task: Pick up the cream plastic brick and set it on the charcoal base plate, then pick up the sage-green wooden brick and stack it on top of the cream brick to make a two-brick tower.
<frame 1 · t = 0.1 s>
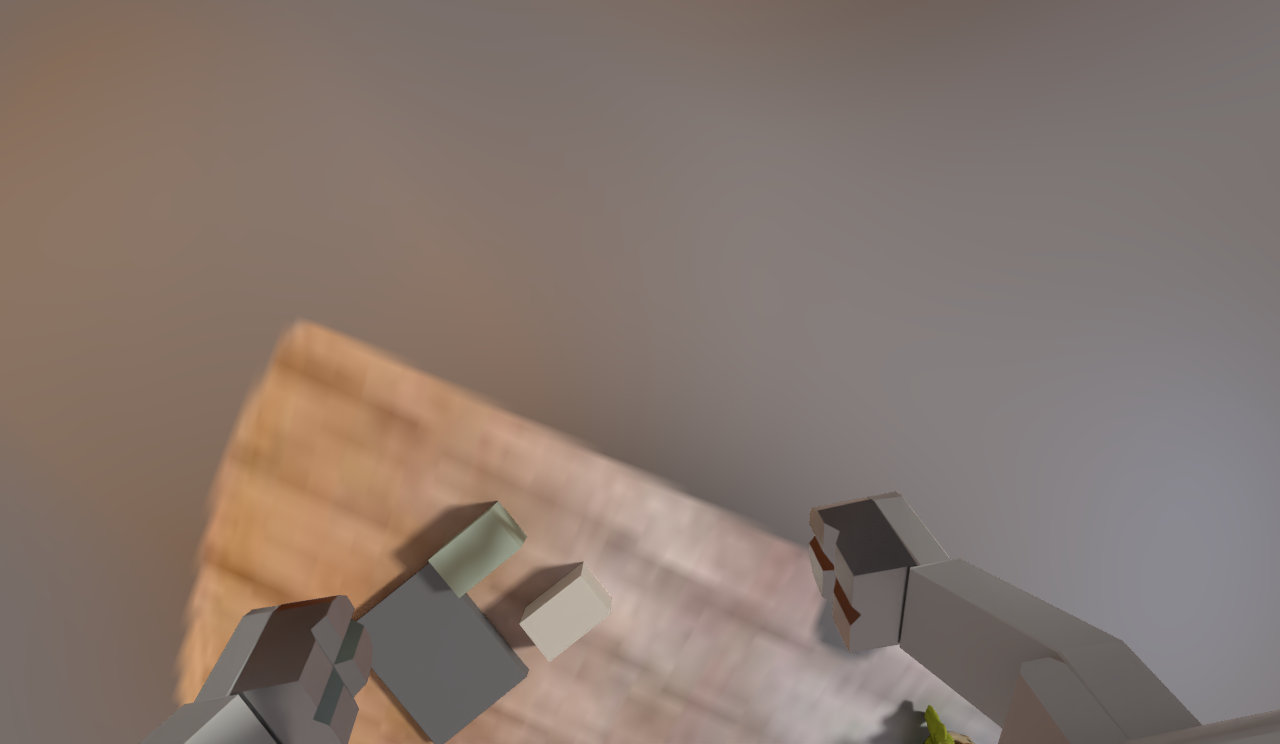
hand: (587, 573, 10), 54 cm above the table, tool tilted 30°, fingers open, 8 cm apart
base plate: (439, 648, 64), on the table
bird rattle: (940, 731, 66), on the table
sage brick: (484, 541, 64), on the table
cream brick: (569, 601, 65), on the table
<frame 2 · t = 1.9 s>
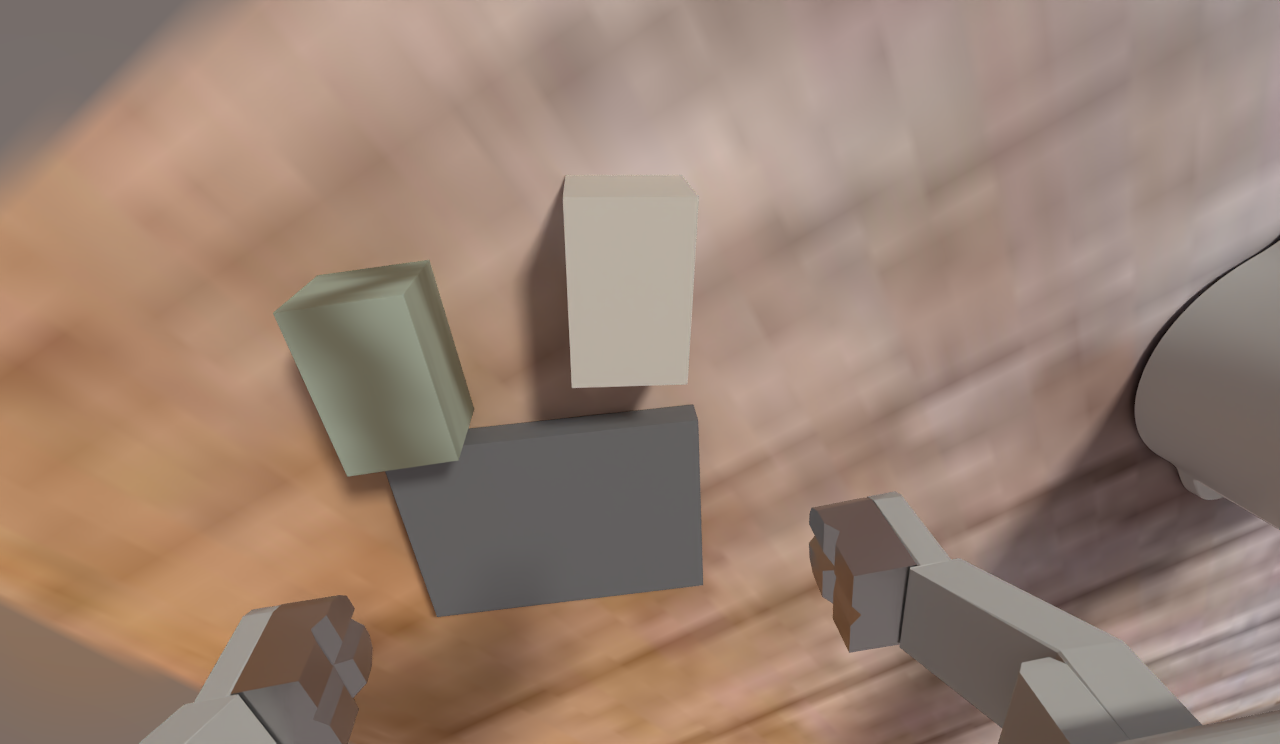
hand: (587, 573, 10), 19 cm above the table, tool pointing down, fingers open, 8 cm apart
base plate: (558, 507, 34), on the table
sage brick: (402, 345, 28), on the table
cream brick: (623, 263, 27), on the table
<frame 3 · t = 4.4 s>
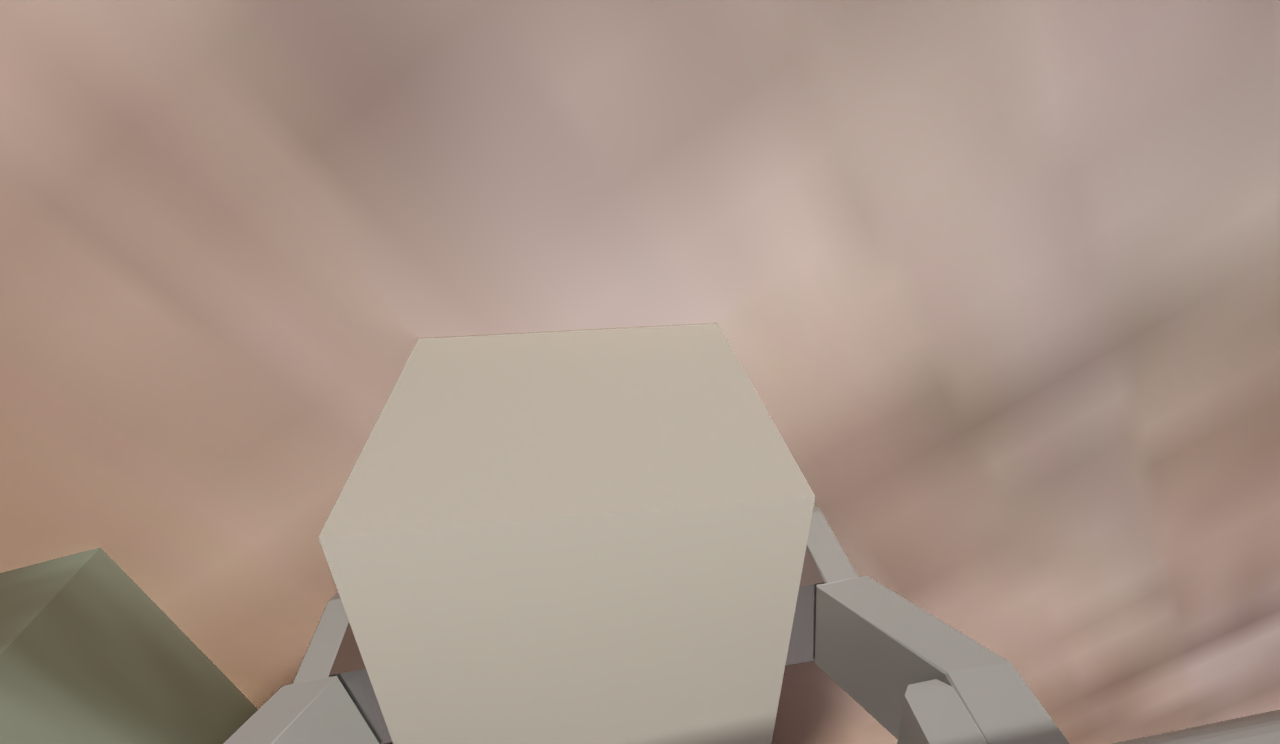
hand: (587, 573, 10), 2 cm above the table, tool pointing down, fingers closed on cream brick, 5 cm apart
sage brick: (120, 694, 13), on the table
cream brick: (584, 512, 12), on the table, touching gripper
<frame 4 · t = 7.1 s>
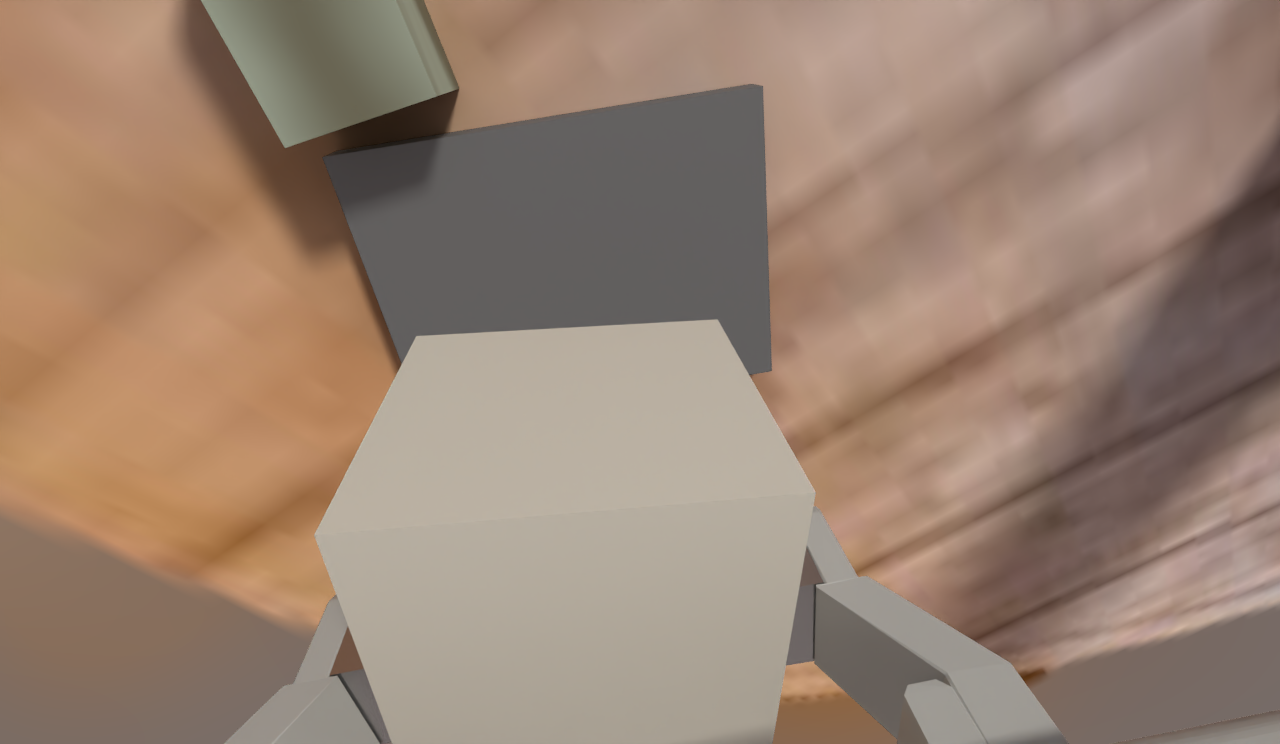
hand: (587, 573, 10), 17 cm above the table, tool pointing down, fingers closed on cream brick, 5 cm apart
base plate: (576, 266, 25), on the table
cream brick: (583, 510, 12), point 16 cm above the table, touching gripper
when the fingers open (4 cm above the table, at t = 10.0 s): cream brick stays where it is, resting on base plate.
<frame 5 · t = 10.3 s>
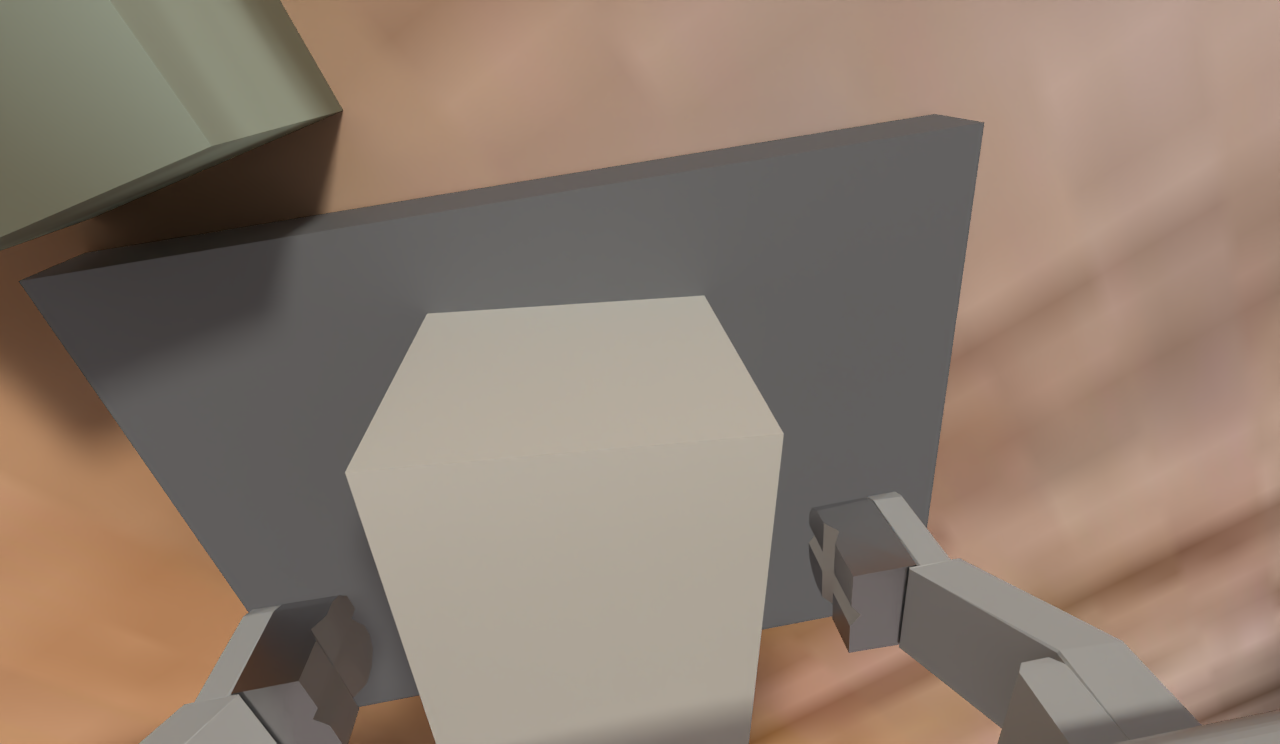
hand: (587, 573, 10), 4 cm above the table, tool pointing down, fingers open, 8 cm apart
base plate: (579, 440, 14), on the table
cream brick: (584, 478, 13), point 1 cm above the table, touching base plate
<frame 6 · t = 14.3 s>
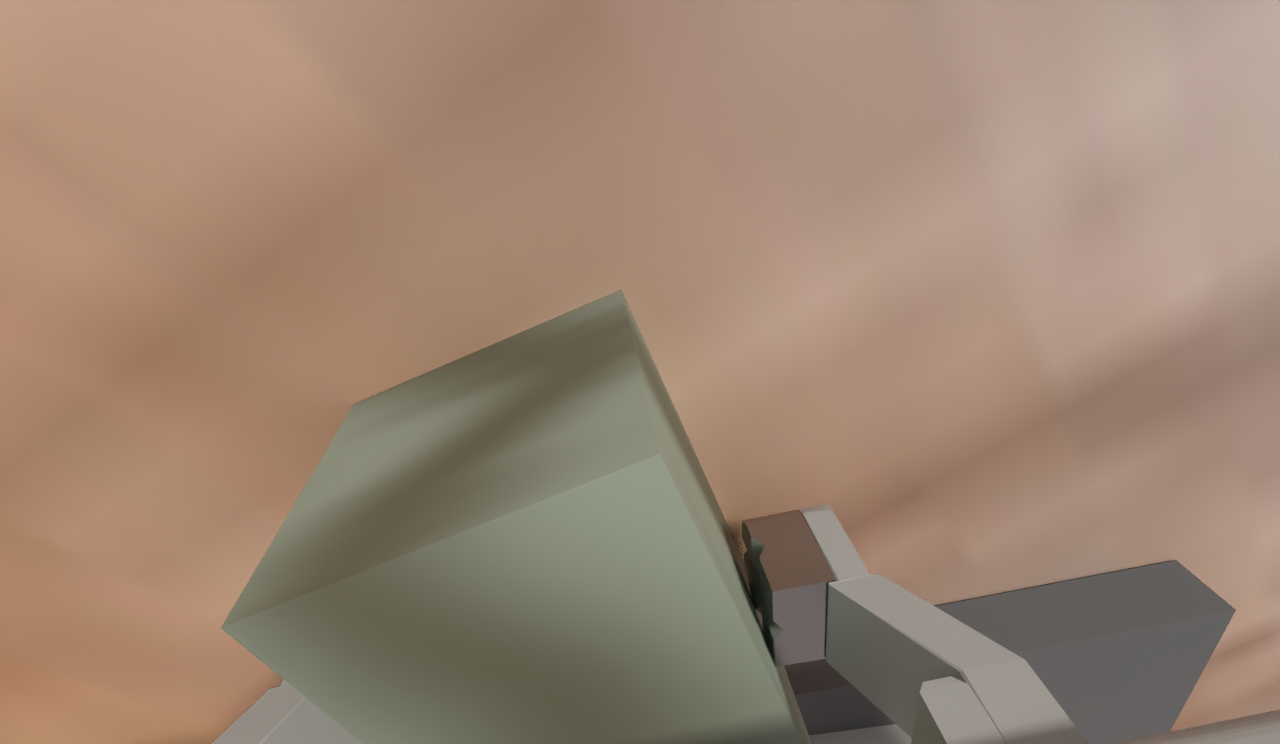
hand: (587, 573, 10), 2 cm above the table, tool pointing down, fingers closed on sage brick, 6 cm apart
sage brick: (584, 509, 12), on the table, touching gripper
when the fingers open (9 cm above the table, at t = 19.7 s): sage brick stays where it is, resting on cream brick.
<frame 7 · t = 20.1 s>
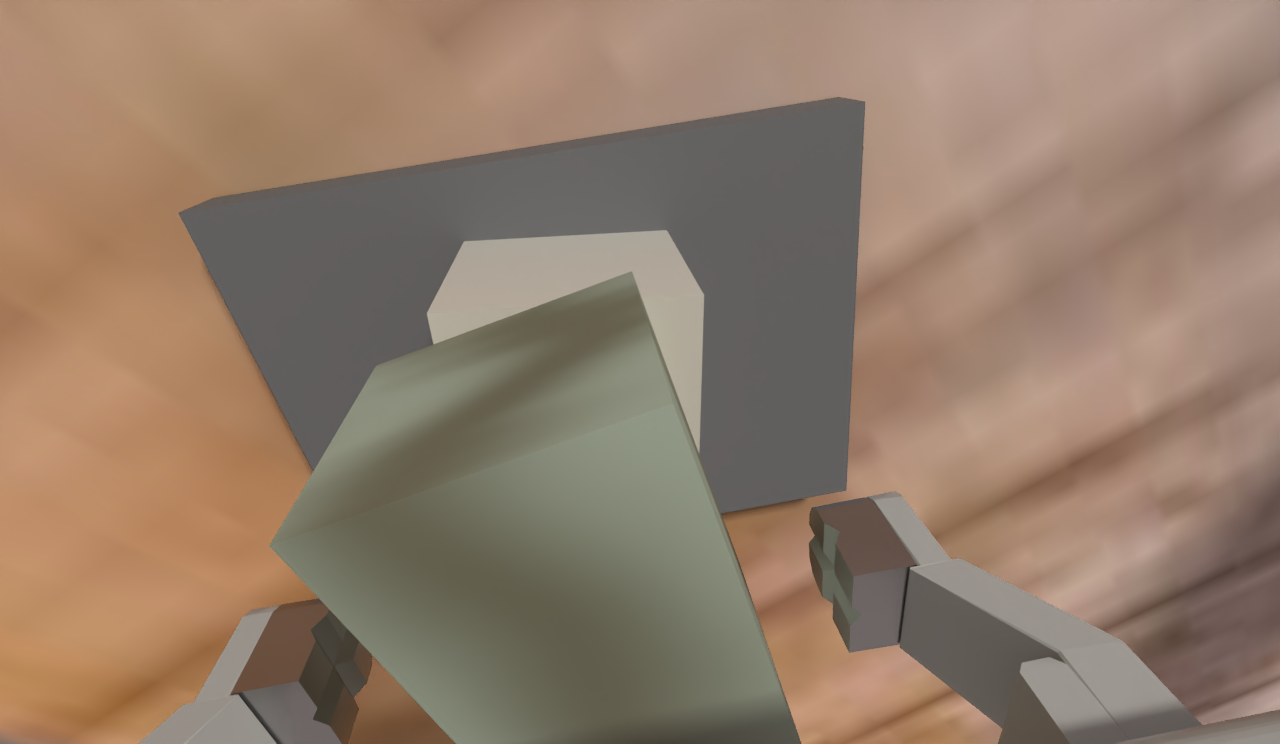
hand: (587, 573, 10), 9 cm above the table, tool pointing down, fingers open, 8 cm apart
base plate: (576, 354, 18), on the table
sage brick: (583, 479, 13), point 6 cm above the table, touching cream brick
cream brick: (578, 376, 17), point 1 cm above the table, touching base plate, sage brick
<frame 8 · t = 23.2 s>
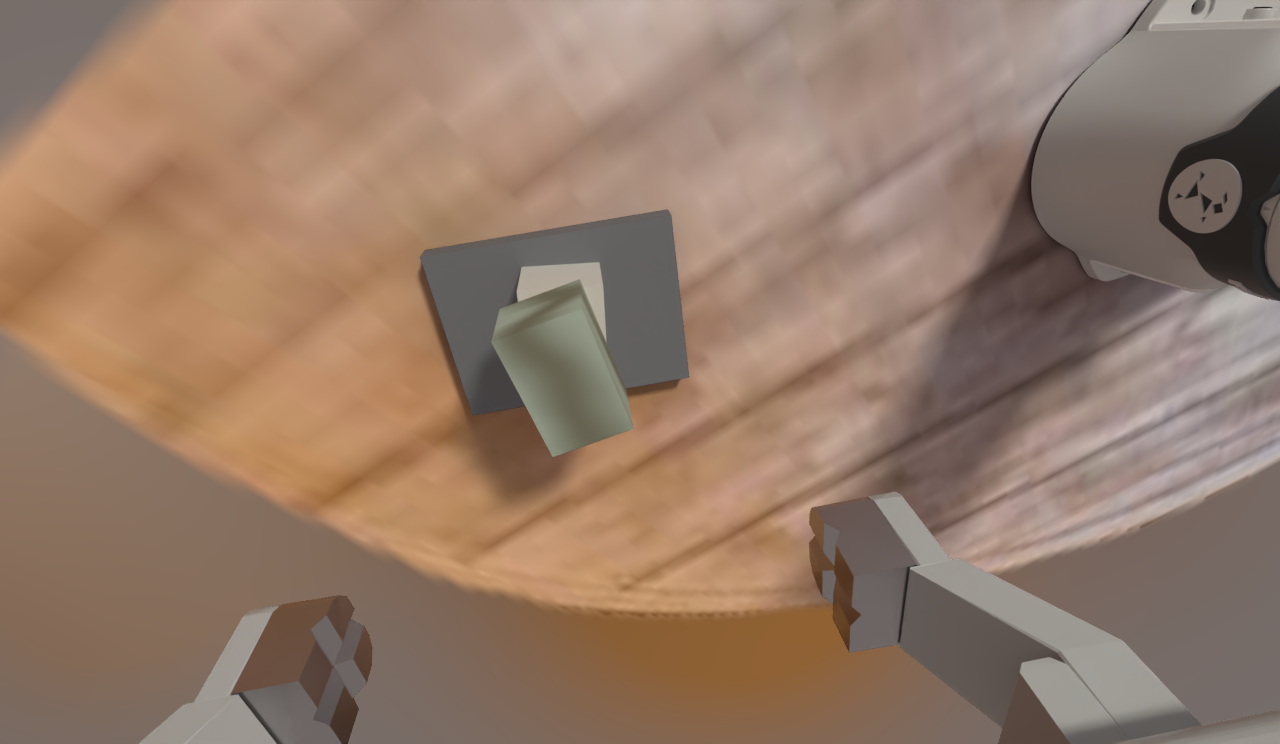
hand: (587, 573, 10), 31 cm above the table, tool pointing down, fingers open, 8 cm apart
base plate: (565, 313, 41), on the table
sage brick: (566, 351, 36), point 6 cm above the table, touching cream brick
cream brick: (566, 321, 40), point 1 cm above the table, touching base plate, sage brick
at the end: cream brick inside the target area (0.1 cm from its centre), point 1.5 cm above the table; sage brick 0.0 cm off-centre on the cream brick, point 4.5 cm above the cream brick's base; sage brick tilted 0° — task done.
